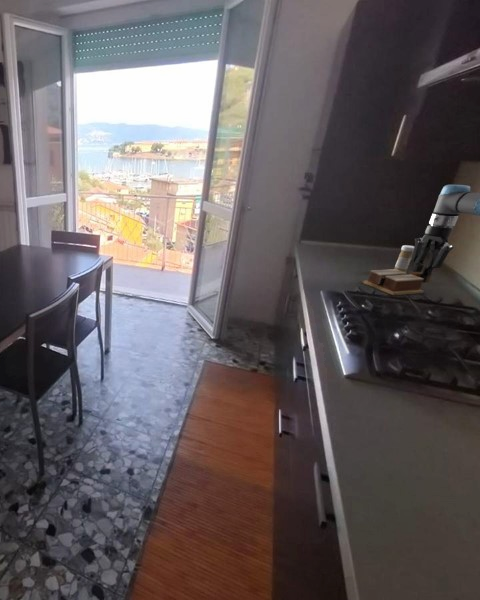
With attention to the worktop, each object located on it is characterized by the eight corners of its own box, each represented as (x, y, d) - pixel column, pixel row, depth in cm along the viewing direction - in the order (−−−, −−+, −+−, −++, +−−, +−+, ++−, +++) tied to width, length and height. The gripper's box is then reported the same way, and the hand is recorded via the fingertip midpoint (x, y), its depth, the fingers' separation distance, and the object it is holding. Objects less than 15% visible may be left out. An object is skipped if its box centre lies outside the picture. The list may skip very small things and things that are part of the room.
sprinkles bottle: (395, 272, 168) (406, 244, 162) (406, 275, 164) (418, 246, 159) (390, 273, 166) (400, 245, 161) (401, 276, 162) (412, 248, 157)
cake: (422, 293, 144) (428, 279, 142) (392, 295, 142) (398, 281, 140) (390, 281, 157) (395, 268, 155) (362, 282, 155) (367, 269, 153)
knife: (422, 280, 152) (426, 271, 151) (428, 282, 150) (432, 273, 148) (376, 282, 149) (379, 273, 147) (381, 284, 147) (384, 275, 145)
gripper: (413, 222, 147) (393, 275, 157) (454, 230, 133) (429, 288, 143) (428, 221, 148) (407, 274, 158) (471, 229, 134) (445, 287, 144)
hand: (418, 280), depth 150 cm, fingers closed on knife, 2 cm apart
